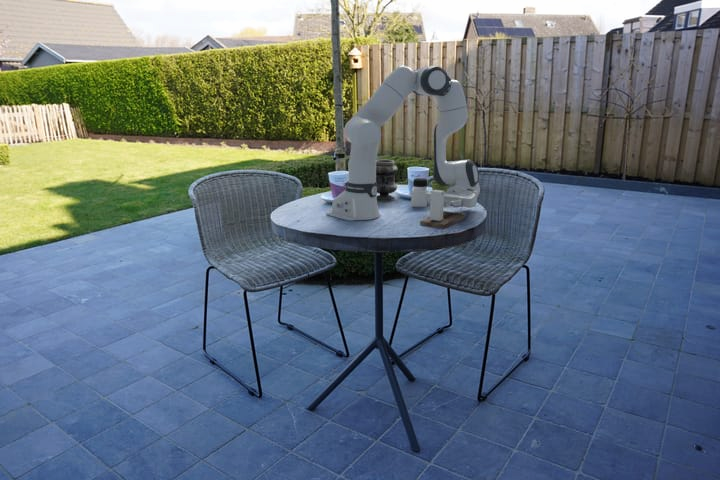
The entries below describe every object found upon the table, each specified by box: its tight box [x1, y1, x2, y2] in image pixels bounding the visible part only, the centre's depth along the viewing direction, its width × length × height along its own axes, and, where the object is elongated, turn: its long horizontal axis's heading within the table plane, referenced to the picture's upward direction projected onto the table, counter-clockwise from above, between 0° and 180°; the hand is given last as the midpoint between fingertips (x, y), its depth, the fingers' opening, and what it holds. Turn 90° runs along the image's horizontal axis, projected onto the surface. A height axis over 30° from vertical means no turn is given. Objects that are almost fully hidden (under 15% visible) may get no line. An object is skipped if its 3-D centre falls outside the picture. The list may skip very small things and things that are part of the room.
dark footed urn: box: [376, 159, 398, 202], centre depth 231 cm, size 12×12×18 cm
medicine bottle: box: [410, 177, 429, 208], centre depth 220 cm, size 7×7×12 cm
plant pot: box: [430, 180, 451, 192], centre depth 227 cm, size 9×9×9 cm
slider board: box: [419, 210, 466, 230], centre depth 195 cm, size 10×19×2 cm, turn 145°
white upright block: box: [429, 189, 445, 221], centre depth 188 cm, size 4×3×11 cm
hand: (441, 202), depth 191 cm, fingers open, 8 cm apart
